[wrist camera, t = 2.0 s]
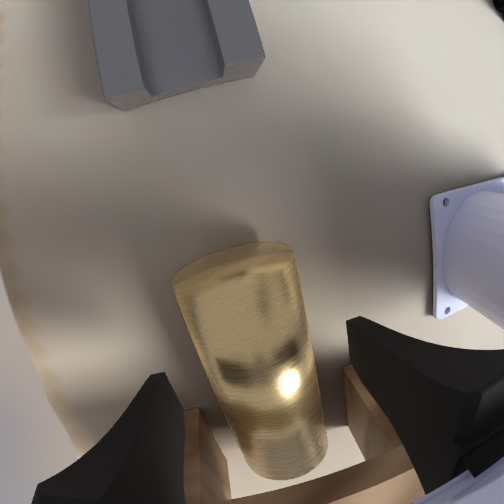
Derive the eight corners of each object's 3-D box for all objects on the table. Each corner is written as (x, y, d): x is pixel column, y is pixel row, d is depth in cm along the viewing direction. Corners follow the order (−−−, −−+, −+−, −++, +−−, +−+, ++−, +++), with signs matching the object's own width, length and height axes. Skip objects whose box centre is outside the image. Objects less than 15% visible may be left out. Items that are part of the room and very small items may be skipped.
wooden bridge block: (385, 350, 18) (461, 440, 10) (385, 411, 20) (439, 493, 12) (153, 415, 18) (140, 532, 9) (187, 467, 19) (190, 565, 11)
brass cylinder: (281, 233, 15) (307, 270, 11) (317, 408, 19) (337, 466, 14) (179, 260, 15) (162, 307, 11) (242, 427, 19) (248, 487, 14)
